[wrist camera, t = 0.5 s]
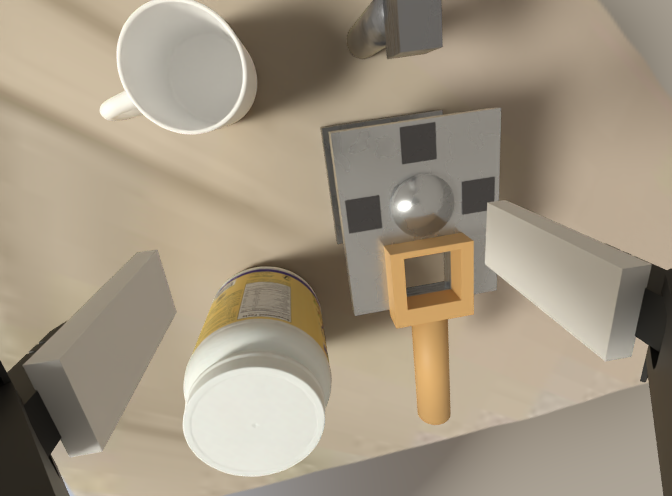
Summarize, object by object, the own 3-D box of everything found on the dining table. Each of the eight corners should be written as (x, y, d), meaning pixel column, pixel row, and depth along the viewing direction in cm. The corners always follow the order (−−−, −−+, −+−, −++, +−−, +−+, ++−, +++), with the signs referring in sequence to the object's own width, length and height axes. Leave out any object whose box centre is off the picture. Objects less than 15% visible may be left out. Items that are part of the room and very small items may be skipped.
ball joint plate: (318, 125, 37) (331, 133, 26) (440, 107, 38) (505, 107, 26) (337, 262, 42) (355, 318, 31) (444, 244, 43) (499, 292, 32)
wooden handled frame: (375, 233, 32) (390, 255, 28) (447, 221, 33) (473, 240, 28) (391, 392, 39) (405, 431, 34) (451, 380, 39) (473, 417, 34)
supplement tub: (316, 355, 46) (330, 483, 30) (213, 354, 44) (172, 490, 29) (324, 263, 42) (346, 356, 26) (211, 258, 40) (162, 355, 25)
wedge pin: (342, 7, 34) (386, -72, 19) (375, 3, 34) (444, -79, 19) (350, 76, 36) (395, 53, 21) (381, 71, 36) (447, 46, 21)
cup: (273, 105, 36) (268, 105, 26) (159, 157, 36) (114, 175, 27) (231, 11, 33) (208, -28, 23) (107, 69, 33) (35, 54, 24)
